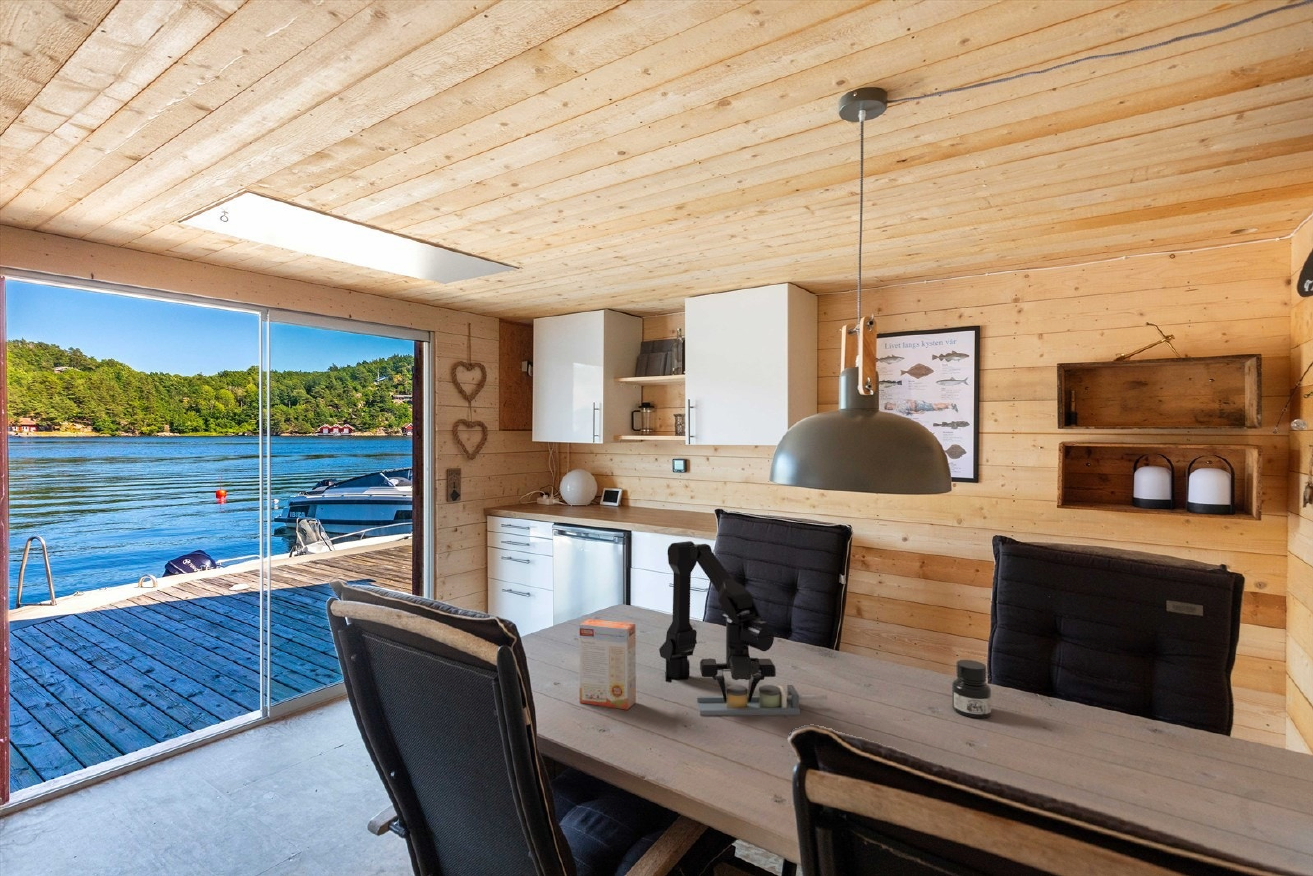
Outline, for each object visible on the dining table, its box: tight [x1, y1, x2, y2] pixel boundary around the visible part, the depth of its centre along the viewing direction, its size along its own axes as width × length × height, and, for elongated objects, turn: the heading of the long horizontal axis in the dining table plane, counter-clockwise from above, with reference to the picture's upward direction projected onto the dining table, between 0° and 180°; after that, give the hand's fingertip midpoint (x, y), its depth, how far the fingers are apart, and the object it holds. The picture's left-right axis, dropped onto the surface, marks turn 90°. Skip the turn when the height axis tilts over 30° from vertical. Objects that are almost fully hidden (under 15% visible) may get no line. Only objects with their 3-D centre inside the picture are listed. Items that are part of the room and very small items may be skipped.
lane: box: [696, 684, 801, 716], centre depth 159 cm, size 25×9×5 cm, turn 91°
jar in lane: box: [758, 684, 780, 708], centre depth 159 cm, size 5×5×5 cm
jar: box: [725, 684, 748, 708], centre depth 159 cm, size 5×5×5 cm
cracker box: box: [578, 618, 637, 711], centre depth 163 cm, size 14×6×21 cm, turn 69°
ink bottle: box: [951, 659, 992, 719], centre depth 158 cm, size 10×9×12 cm
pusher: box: [777, 685, 828, 708], centre depth 159 cm, size 12×6×4 cm, turn 91°
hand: (737, 701), depth 159 cm, fingers open, 6 cm apart
